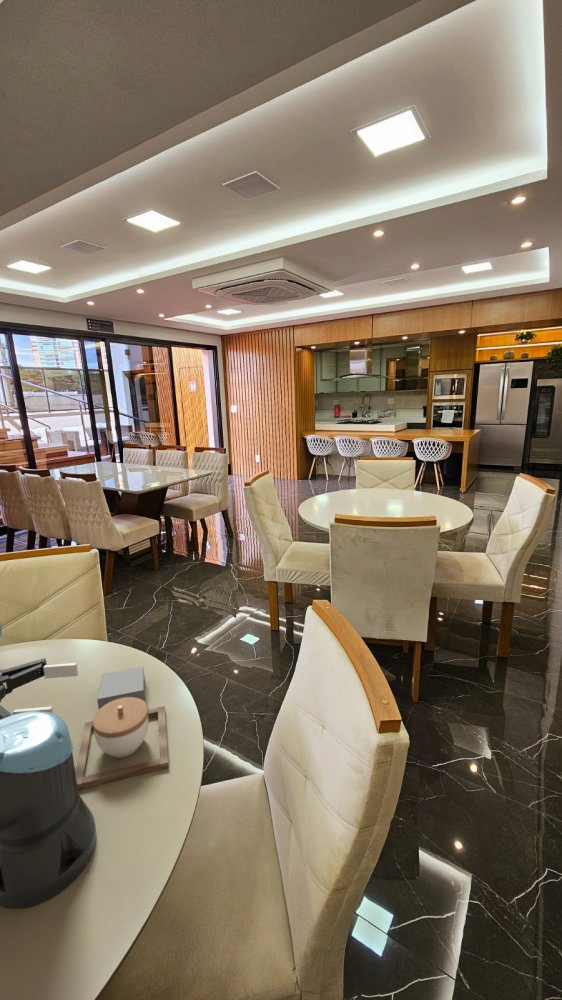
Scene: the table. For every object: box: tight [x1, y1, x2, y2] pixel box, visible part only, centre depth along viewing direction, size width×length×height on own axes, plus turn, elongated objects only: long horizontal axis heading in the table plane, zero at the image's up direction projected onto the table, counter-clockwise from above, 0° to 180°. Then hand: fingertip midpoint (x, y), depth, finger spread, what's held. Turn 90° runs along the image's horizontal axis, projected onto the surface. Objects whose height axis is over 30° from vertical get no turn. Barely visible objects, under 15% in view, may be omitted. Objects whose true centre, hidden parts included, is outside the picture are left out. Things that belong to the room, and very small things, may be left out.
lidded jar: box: [92, 697, 150, 759], centre depth 90 cm, size 11×11×9 cm
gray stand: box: [97, 666, 146, 710], centre depth 106 cm, size 10×10×4 cm
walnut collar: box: [75, 705, 169, 791], centre depth 90 cm, size 17×17×1 cm
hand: (65, 690), depth 87 cm, fingers open, 13 cm apart
